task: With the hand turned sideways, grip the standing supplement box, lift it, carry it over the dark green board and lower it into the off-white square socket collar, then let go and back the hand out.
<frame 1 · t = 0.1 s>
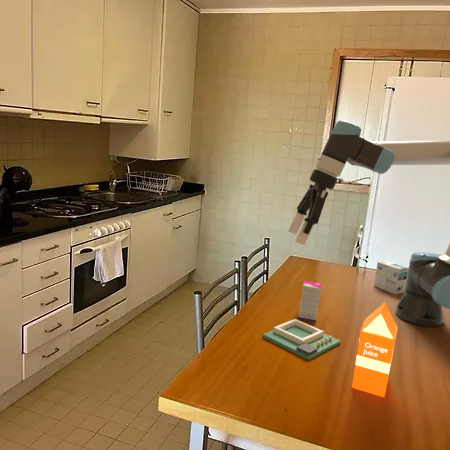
hand: (295, 237, 134), 28 cm above the table, tool tilted 20°, fingers open, 13 cm apart
orange juice: (369, 384, 108), on the table
supplement box: (307, 317, 146), on the table
light bulb box: (388, 289, 182), on the table
socket board: (301, 340, 128), on the table
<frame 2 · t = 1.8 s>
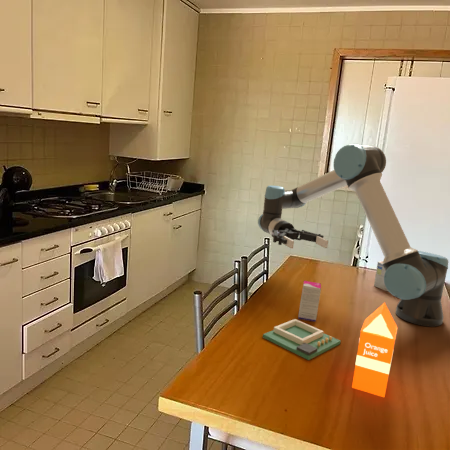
hand: (310, 244, 153), 22 cm above the table, tool horizontal, fingers open, 13 cm apart
nothing on the table moved.
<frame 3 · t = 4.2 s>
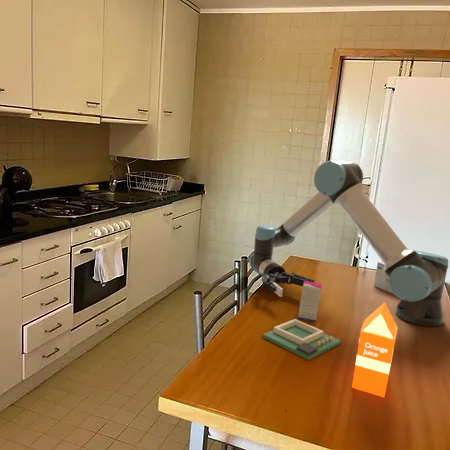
hand: (299, 292, 150), 6 cm above the table, tool horizontal, fingers open, 13 cm apart
nothing on the table moved.
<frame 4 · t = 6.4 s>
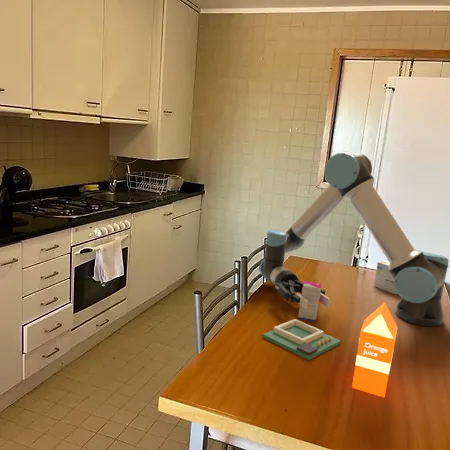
hand: (317, 304, 140), 7 cm above the table, tool horizontal, fingers closed on supplement box, 8 cm apart
supplement box: (307, 317, 146), on the table, touching gripper
everything else where it was.
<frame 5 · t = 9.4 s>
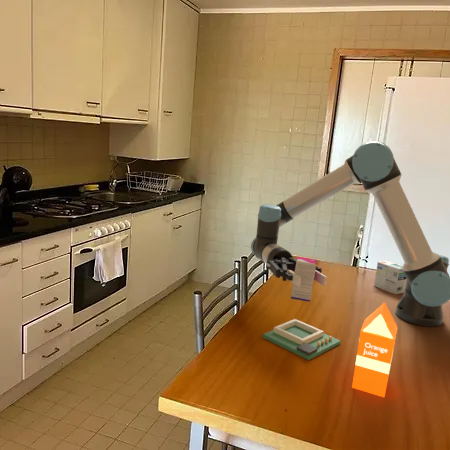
hand: (312, 281, 125), 18 cm above the table, tool horizontal, fingers closed on supplement box, 8 cm apart
supplement box: (301, 297, 131), point 11 cm above the table, touching gripper
everything else where it was.
when the fingers open (8 cm above the table, at t = 12.4 s): supplement box stays where it is, resting on socket board.
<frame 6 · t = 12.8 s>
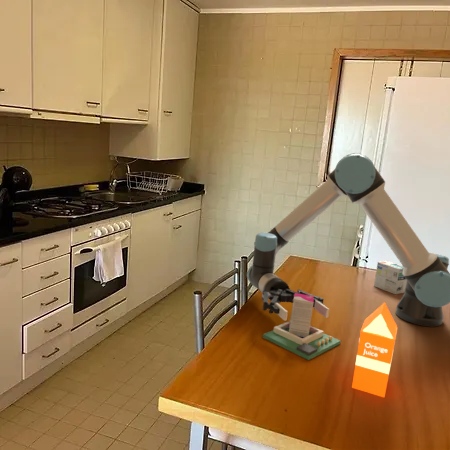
hand: (307, 314, 125), 8 cm above the table, tool horizontal, fingers open, 13 cm apart
supplement box: (298, 334, 130), point 1 cm above the table, touching socket board
everything else where it was.
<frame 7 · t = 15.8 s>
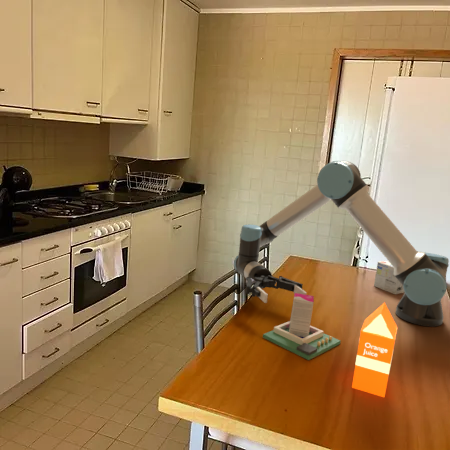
hand: (286, 297, 137), 9 cm above the table, tool horizontal, fingers open, 13 cm apart
nothing on the table moved.
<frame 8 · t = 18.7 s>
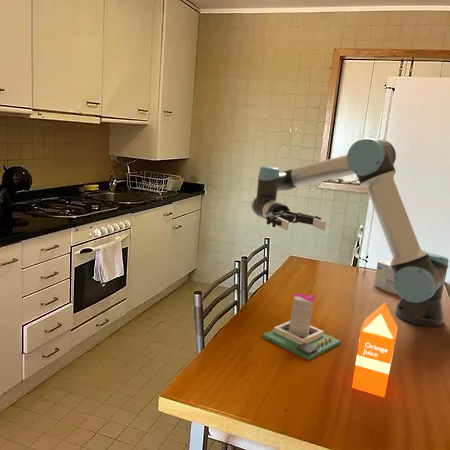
hand: (306, 226, 141), 30 cm above the table, tool horizontal, fingers open, 13 cm apart
nothing on the table moved.
at the end: supplement box 0.2 cm from the target spot on the socket board, point 0.8 cm above the socket board's base; supplement box tilted 0°; the gripper is holding nothing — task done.
